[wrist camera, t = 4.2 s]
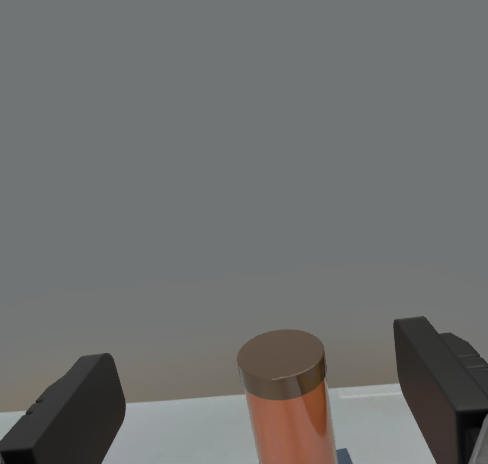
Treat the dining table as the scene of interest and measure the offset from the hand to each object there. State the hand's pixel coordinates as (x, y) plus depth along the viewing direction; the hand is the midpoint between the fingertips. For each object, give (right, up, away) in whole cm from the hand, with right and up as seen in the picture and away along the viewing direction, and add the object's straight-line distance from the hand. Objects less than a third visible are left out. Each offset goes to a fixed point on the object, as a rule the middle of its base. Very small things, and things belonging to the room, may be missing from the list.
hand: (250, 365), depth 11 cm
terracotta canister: (+4, -14, +15) cm, 21 cm away
